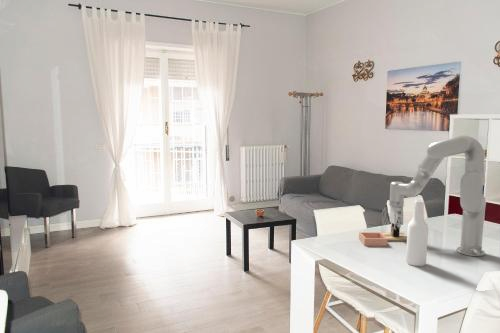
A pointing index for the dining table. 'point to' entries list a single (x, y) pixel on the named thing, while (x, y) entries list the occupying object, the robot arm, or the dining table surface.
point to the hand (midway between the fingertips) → (395, 235)
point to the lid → (391, 238)
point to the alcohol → (417, 237)
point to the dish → (372, 239)
